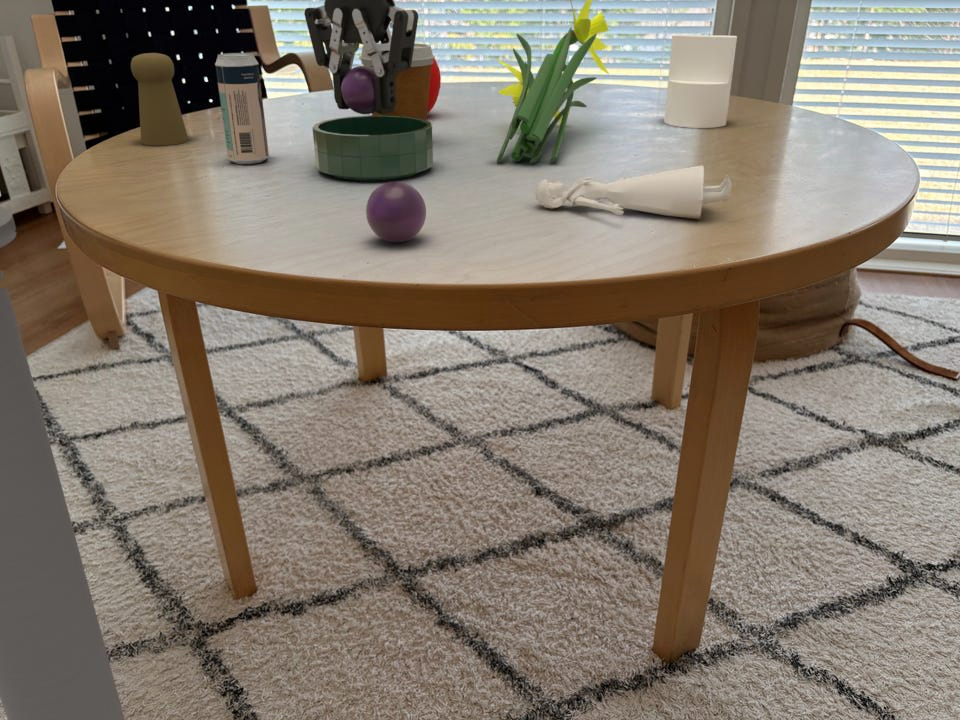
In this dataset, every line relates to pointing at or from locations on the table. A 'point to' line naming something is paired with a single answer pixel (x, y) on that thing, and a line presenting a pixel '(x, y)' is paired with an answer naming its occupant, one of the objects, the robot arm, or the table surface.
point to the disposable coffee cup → (411, 83)
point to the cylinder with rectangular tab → (699, 80)
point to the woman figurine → (641, 193)
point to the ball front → (396, 211)
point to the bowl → (373, 147)
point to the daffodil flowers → (550, 87)
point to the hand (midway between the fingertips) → (365, 109)
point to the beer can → (242, 107)
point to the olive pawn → (158, 100)
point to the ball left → (360, 89)
